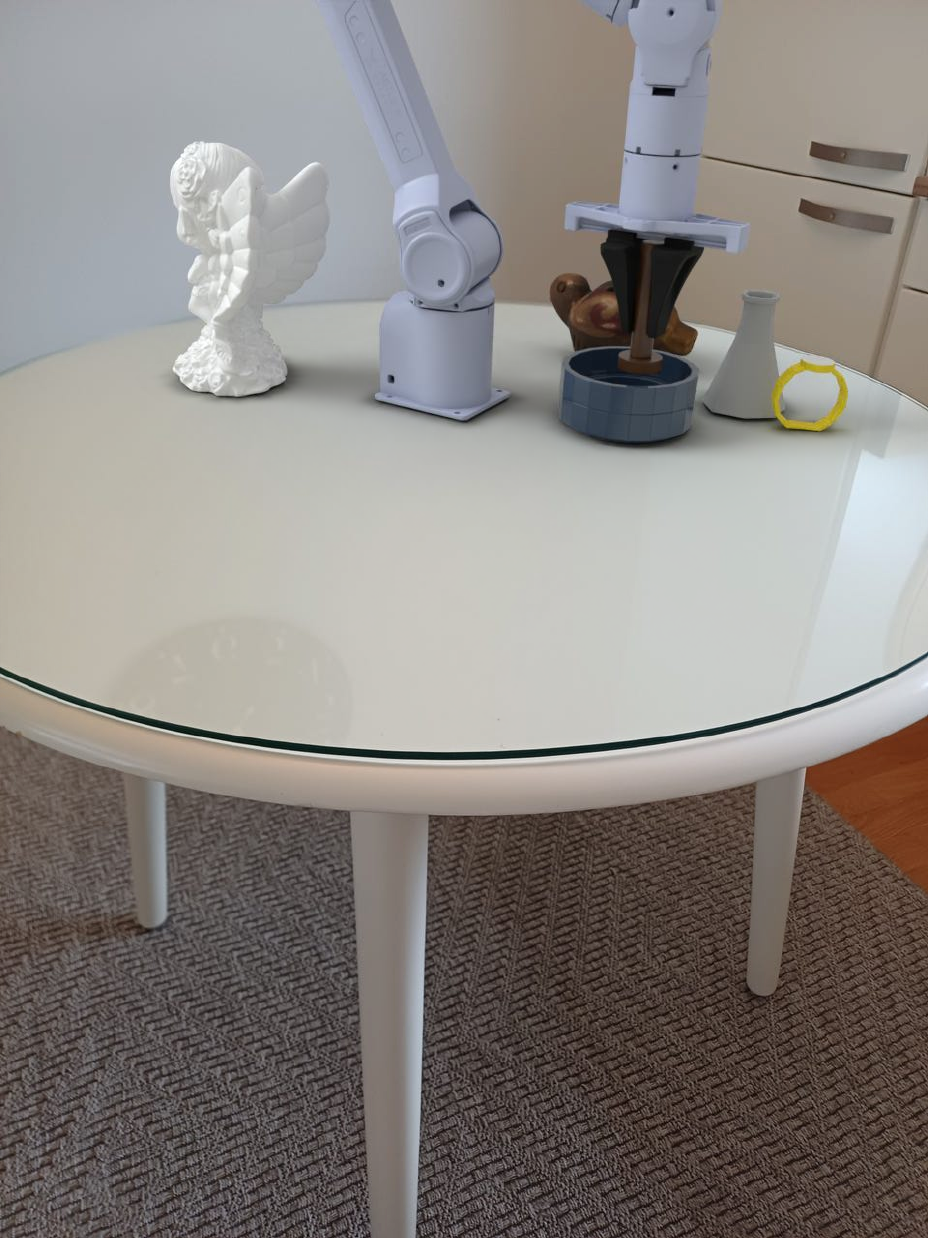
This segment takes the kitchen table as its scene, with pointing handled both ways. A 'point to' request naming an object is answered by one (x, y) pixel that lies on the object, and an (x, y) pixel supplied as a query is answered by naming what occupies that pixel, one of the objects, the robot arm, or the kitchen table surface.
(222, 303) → the cherub figurine
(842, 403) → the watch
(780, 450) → the kitchen table surface
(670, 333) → the decorative turtle
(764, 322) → the flask
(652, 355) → the brown wooden pestle
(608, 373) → the bowl
